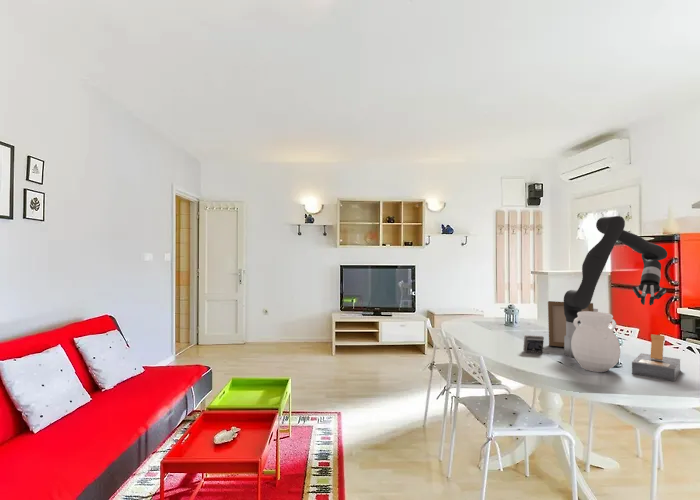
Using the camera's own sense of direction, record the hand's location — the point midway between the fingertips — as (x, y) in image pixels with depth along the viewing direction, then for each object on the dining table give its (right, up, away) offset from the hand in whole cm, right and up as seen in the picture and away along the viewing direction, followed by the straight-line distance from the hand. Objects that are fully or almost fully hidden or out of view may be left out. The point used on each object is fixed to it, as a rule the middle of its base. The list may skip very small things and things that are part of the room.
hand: (646, 303), depth 183 cm
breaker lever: (-8, -23, -16) cm, 29 cm away
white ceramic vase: (-33, -28, -13) cm, 45 cm away
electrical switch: (-47, -28, +16) cm, 57 cm away
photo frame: (-19, -29, +31) cm, 46 cm away
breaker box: (-8, -28, -16) cm, 33 cm away
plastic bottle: (0, -29, +39) cm, 49 cm away
